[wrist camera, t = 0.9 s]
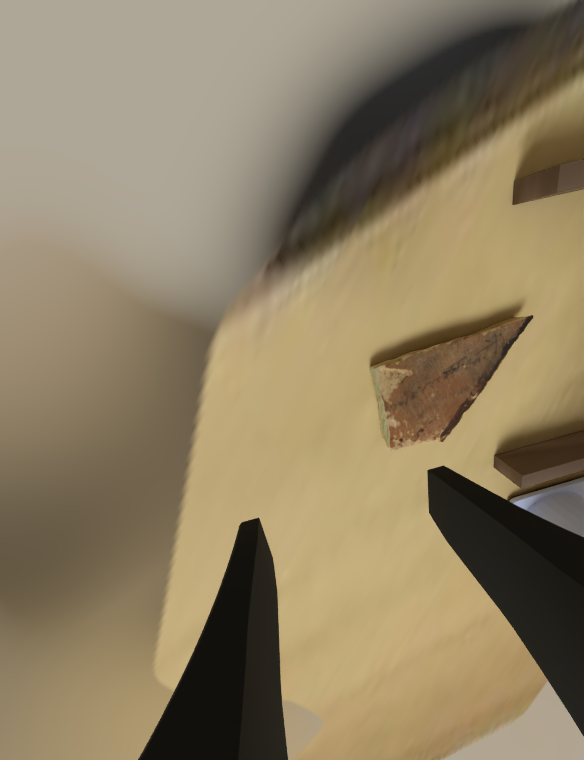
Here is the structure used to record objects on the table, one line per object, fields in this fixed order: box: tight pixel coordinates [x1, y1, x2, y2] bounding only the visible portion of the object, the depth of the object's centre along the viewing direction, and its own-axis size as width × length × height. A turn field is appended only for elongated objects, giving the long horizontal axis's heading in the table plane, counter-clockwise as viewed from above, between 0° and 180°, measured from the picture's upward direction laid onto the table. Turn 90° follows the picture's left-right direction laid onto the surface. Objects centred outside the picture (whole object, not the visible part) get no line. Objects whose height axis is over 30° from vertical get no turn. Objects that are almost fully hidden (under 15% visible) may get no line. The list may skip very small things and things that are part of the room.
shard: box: [370, 315, 533, 451], centre depth 20 cm, size 11×8×2 cm
